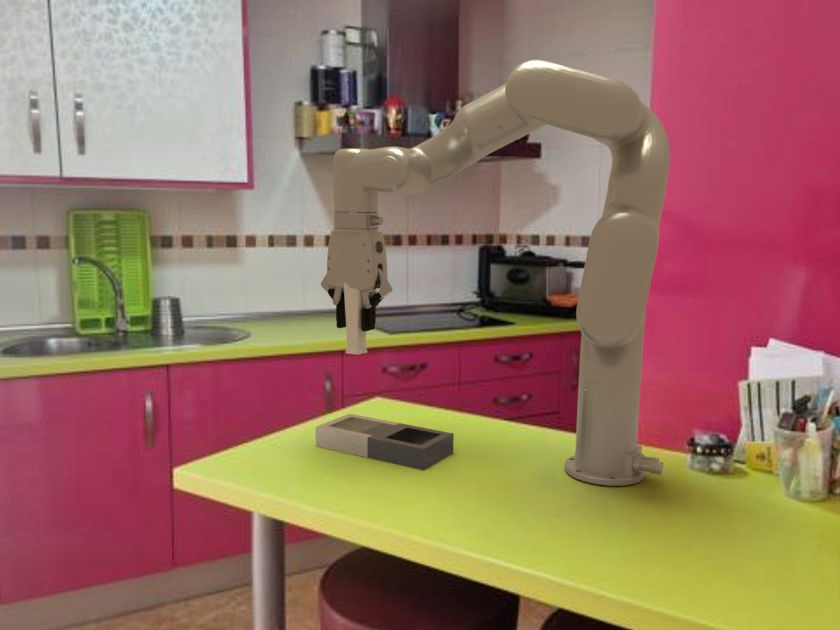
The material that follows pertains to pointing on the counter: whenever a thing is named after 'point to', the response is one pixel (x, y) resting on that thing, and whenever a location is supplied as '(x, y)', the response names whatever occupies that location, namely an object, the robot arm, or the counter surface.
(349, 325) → the perfume bottle
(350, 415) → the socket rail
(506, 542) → the counter surface
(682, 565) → the counter surface
